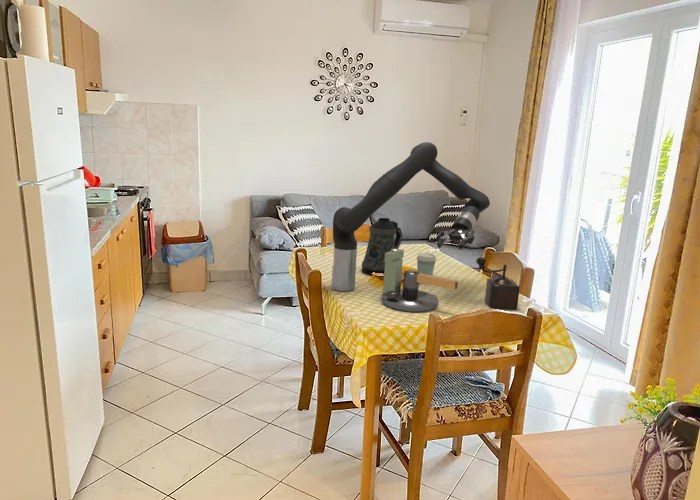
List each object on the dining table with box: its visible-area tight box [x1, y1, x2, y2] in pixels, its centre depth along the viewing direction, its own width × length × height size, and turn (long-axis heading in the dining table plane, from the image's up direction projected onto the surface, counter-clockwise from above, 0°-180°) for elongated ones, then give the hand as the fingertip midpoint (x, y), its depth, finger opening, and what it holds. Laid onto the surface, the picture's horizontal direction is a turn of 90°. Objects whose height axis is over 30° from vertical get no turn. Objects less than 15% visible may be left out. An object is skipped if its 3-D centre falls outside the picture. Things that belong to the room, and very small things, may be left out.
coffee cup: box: [416, 252, 437, 276], centre depth 234 cm, size 9×8×12 cm
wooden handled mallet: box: [402, 269, 458, 300], centre depth 201 cm, size 21×6×10 cm, turn 58°
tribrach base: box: [380, 248, 440, 314], centre depth 204 cm, size 22×22×20 cm
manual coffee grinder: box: [475, 256, 520, 311], centre depth 207 cm, size 16×11×18 cm
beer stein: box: [361, 217, 403, 277], centre depth 245 cm, size 16×19×25 cm
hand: (449, 246), depth 203 cm, fingers open, 8 cm apart
